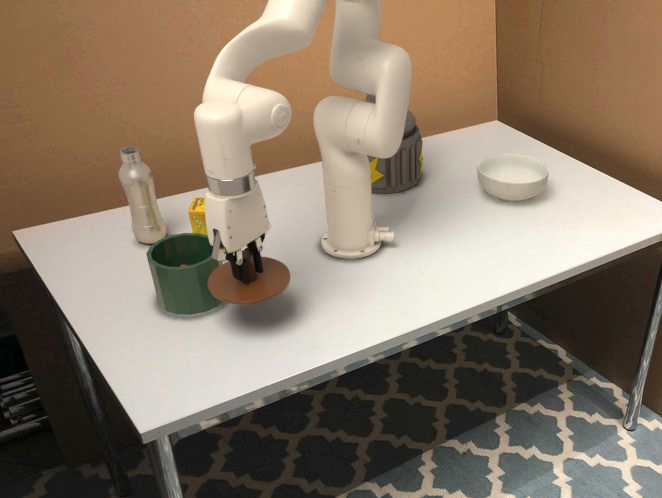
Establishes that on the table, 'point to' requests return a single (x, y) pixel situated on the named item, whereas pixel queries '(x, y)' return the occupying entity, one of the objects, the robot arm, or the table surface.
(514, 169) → the cereal bowl
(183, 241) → the canister
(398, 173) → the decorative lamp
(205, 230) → the supplement box
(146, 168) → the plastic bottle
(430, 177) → the table surface
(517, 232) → the table surface
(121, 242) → the table surface
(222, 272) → the canister lid
